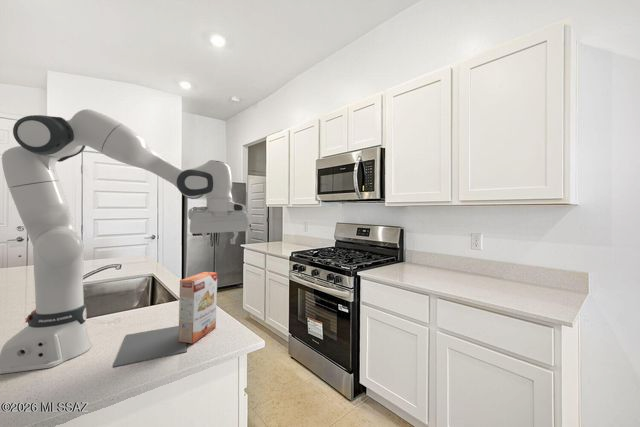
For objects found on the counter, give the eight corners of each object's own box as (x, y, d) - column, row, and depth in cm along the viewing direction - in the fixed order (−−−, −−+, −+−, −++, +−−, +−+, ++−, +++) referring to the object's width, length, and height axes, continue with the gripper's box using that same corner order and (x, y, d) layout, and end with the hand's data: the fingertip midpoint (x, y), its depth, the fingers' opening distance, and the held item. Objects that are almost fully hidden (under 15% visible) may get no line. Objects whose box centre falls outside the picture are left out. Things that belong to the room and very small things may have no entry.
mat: (113, 367, 81) (112, 366, 81) (126, 335, 101) (126, 334, 101) (186, 352, 90) (186, 351, 90) (185, 325, 109) (185, 324, 109)
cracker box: (193, 344, 94) (194, 281, 93) (177, 342, 95) (178, 279, 94) (217, 327, 107) (218, 271, 107) (202, 325, 109) (203, 270, 108)
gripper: (188, 207, 96) (189, 248, 96) (249, 206, 104) (250, 243, 105) (187, 206, 101) (188, 245, 102) (246, 206, 110) (247, 241, 111)
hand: (220, 244), depth 103 cm, fingers open, 7 cm apart
